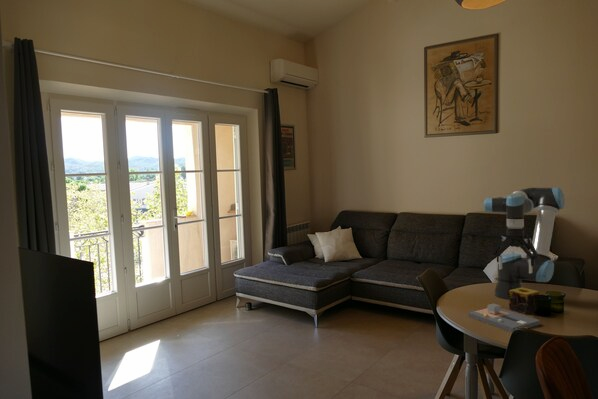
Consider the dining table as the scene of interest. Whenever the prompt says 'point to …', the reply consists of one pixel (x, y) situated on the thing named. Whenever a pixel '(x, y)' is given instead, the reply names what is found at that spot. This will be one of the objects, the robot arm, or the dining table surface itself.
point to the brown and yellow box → (522, 300)
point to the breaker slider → (493, 308)
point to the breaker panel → (504, 319)
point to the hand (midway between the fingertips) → (515, 271)
